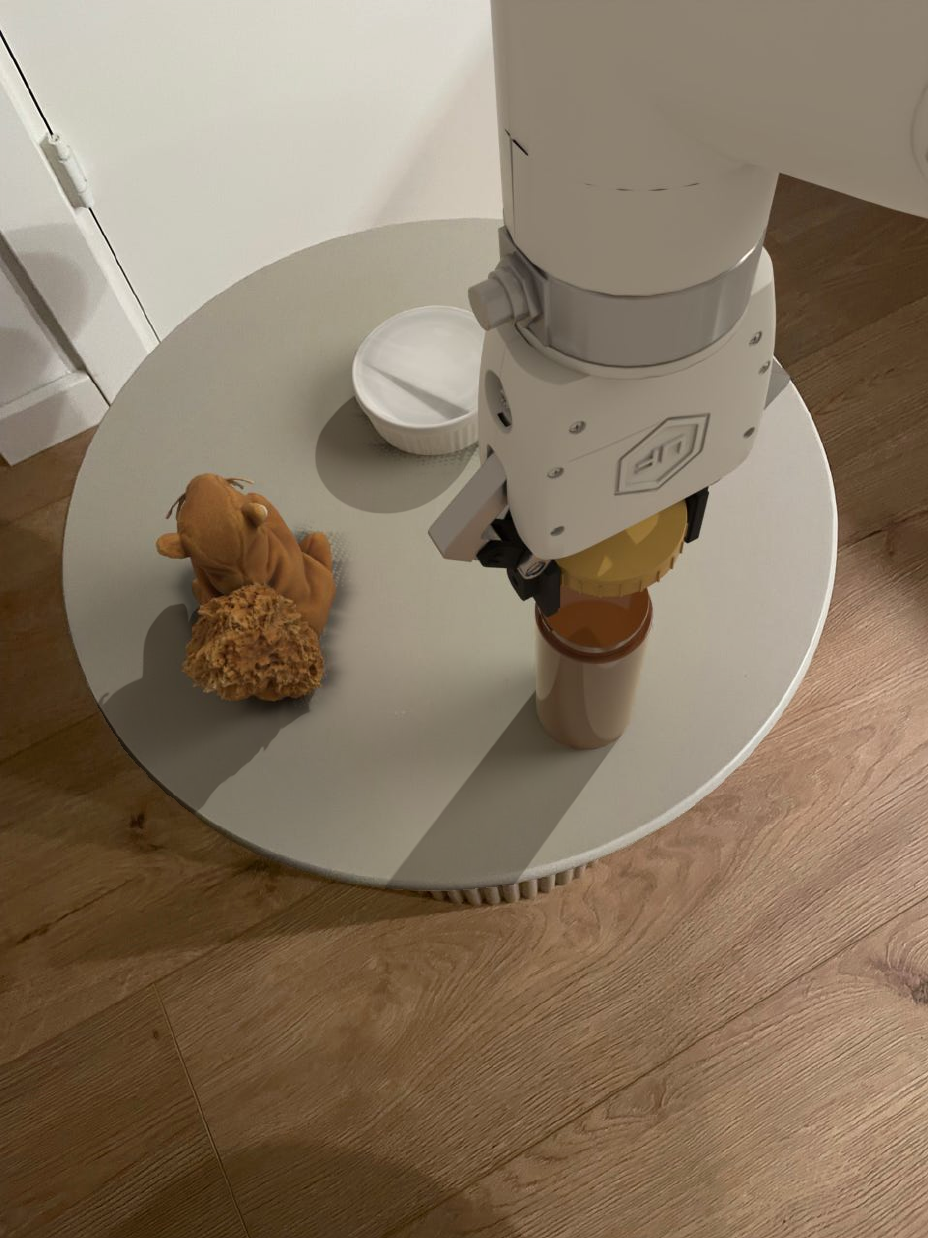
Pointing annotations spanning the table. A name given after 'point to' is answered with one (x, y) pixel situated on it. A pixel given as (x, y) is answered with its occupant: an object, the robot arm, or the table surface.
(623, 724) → the jar
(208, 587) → the stuffed squirrel
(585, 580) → the lid
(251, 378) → the table surface
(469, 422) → the ramekin
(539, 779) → the table surface
